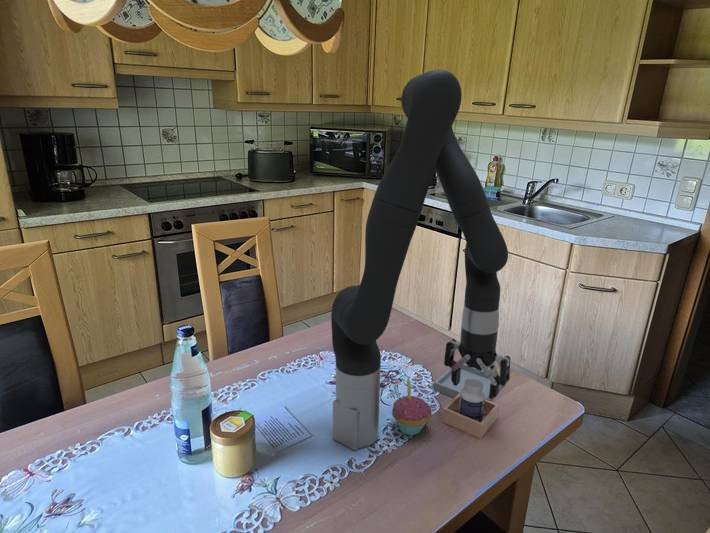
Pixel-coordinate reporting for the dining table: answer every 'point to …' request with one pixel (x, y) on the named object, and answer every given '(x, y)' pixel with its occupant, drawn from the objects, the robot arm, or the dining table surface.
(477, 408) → the pill bottle
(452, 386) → the tray
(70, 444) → the dining table surface
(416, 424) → the cupcake
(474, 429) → the holder
